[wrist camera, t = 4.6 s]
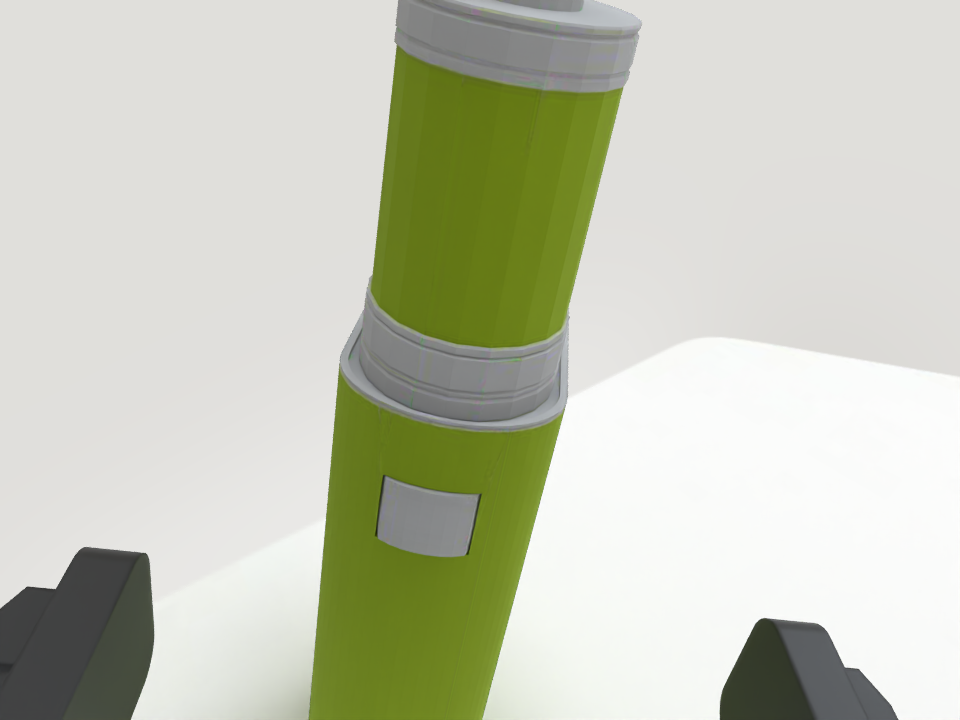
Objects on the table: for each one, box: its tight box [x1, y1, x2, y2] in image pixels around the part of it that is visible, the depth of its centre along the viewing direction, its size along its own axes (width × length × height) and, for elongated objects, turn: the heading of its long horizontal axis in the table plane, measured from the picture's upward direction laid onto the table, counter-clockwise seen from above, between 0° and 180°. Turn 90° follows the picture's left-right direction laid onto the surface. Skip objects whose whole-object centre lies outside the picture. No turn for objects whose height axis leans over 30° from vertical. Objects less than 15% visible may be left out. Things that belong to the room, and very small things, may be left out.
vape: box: [309, 0, 642, 720], centre depth 16 cm, size 4×6×20 cm, turn 174°
